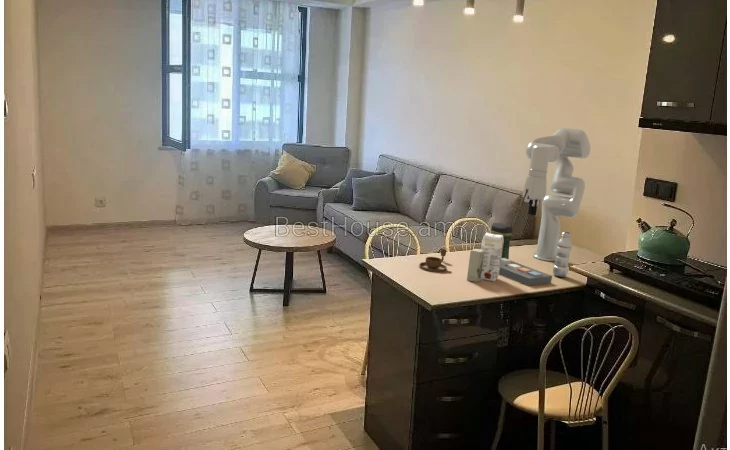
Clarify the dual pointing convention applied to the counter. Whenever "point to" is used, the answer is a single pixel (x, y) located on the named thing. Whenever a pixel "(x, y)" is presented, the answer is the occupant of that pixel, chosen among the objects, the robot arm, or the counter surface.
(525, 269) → the key
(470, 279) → the box
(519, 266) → the key
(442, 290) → the counter surface
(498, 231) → the coffee jar
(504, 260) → the key
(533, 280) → the keypad
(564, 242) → the plastic bottle
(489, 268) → the juice carton
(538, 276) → the key
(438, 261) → the brown cup and saucer
